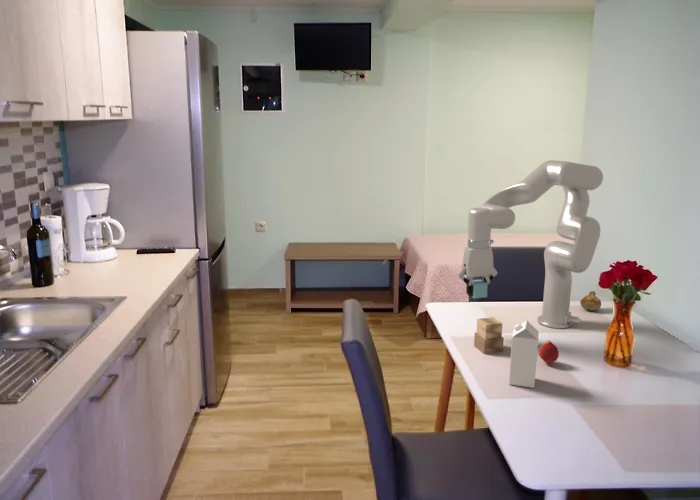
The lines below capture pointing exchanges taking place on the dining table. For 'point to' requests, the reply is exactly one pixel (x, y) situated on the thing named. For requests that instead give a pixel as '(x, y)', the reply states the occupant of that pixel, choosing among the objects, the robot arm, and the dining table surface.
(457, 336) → the dining table surface
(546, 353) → the onion
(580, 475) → the dining table surface
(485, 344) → the walnut base block
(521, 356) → the milk carton
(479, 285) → the teal cube
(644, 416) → the dining table surface
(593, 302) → the onion
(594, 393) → the dining table surface
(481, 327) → the oak middle block
